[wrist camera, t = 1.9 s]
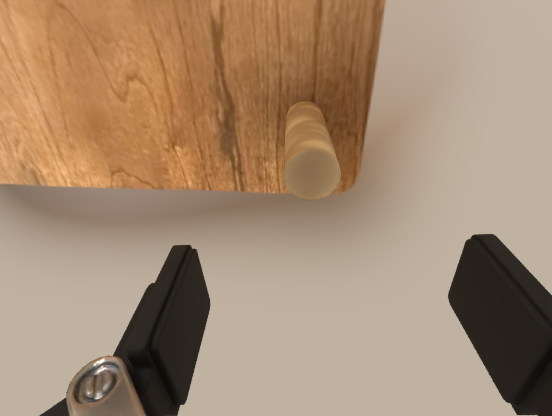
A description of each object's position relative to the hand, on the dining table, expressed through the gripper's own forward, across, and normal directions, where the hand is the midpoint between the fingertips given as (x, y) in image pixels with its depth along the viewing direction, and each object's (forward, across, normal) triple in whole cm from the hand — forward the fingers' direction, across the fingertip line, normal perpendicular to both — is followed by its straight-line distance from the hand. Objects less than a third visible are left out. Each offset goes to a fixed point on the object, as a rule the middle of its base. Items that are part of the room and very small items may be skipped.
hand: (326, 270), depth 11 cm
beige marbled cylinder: (+22, 0, +1) cm, 22 cm away
